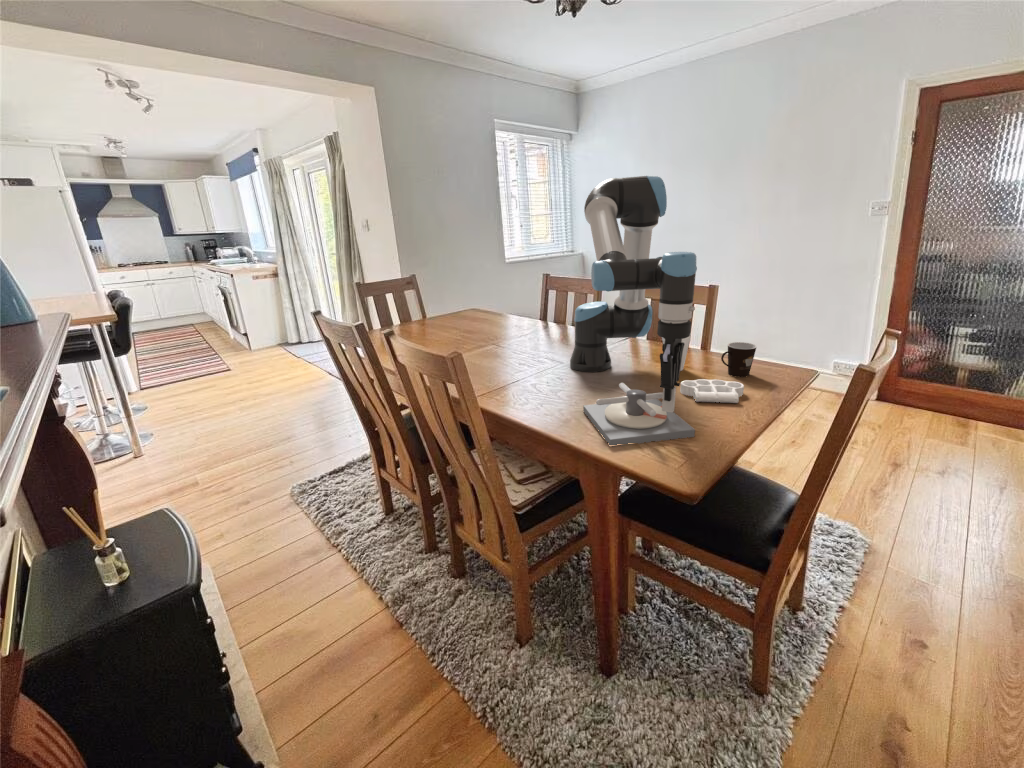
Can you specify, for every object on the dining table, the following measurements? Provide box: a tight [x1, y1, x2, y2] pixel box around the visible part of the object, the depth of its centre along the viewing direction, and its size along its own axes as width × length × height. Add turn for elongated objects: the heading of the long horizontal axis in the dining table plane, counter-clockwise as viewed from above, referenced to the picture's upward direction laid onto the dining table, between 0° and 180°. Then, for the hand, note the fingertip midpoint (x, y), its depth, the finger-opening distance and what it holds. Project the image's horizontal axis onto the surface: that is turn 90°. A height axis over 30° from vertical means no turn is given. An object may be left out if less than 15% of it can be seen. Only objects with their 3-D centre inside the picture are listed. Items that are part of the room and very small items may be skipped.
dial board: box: [582, 399, 696, 446], centre depth 123 cm, size 22×22×2 cm
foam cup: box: [661, 333, 692, 372], centre depth 161 cm, size 10×9×13 cm
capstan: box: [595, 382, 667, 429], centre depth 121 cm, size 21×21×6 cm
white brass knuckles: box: [679, 378, 745, 404], centre depth 139 cm, size 3×18×15 cm
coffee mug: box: [720, 341, 757, 378], centre depth 153 cm, size 12×9×10 cm
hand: (667, 410), depth 117 cm, fingers closed
